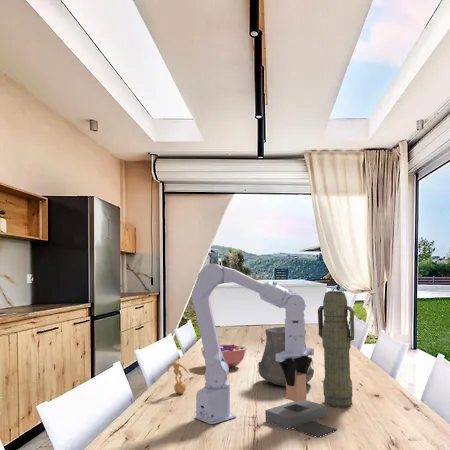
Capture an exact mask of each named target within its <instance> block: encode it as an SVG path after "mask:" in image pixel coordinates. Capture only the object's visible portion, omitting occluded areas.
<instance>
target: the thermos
mask: <svg viewBox="0 0 450 450" xmlns="http://www.w3.org/2000/svg"><path fill="white" fill-rule="evenodd" d="M348 311H349V314H348ZM354 313H355V312H354V309H353V308H352V307H351V306H349V305H348V299H347V295H346V294H345V292H343V291H342V290H341V291H340V290H329V291H327V292H325V294H324V296H323V301H322V305H320V306H319V307H318V309H317V322H318V336H319V337H320V338H321V339H322V340H321V341H322V347H323V352H324V353H323V357H324V359H323V361H324V362H323V363H324V378H323V381H322V382H323V383H322V384H323V387H322V388H323V397H324V402H323V403H324V405H326V404H327V405H326V406H328V405H329V406H328V407H332V406H334V407H333V408H349V407H351V405H352V406H353V395H354V394H353V381H352V379H351V364H350V363H351V361H350V349H351V342H353V341H354V340H355V314H354ZM348 316H349V321H348ZM349 325H350V326H349Z"/></svg>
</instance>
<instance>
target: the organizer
mask: <svg viewBox="0 0 450 450" xmlns="http://www.w3.org/2000/svg"><path fill="white" fill-rule="evenodd" d="M327 406H328V405H326V404H321V403H318V402H315V401H310V400H307V399H306V400H302V401H299V402H295V401H291V402H288V403H285V404H281V405H279V406H275V407H271V408H269V409H265V413H264V415H265V422H266V421H267V422H266V423H269V422H270V423H269V424H272V423H273V424H272V425H275V424H276V425H275V426H278V425H279V426H278V427H280V426H282V427H281V428H283V427H285V428H284V429H286V428H288V429H287V430H289V429H291V430H293V429H292V428H295V427H298V426H301V425H304V424H306V423H309V422H312V421H314V422H316V421H318V420H317V419H319V420H321V419H320V418H322V419H324V418H327V417H328V410H327V409H328V407H327ZM326 416H327V417H326ZM323 417H324V418H323ZM315 420H316V421H315Z"/></svg>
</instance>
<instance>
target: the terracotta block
mask: <svg viewBox="0 0 450 450" xmlns="http://www.w3.org/2000/svg"><path fill="white" fill-rule="evenodd" d="M285 393H286V400H289V401H291V402H294V401H295V402H299V401H302V400H307V383H306V374H303V373H299V372H295V383H294V386H289V385H287V382H286V386H285Z"/></svg>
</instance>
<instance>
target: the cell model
mask: <svg viewBox="0 0 450 450" xmlns="http://www.w3.org/2000/svg"><path fill="white" fill-rule="evenodd" d="M219 345H220V349H221V352H222V354H223V358H224V360H225V361H226V363H227V364H228V366H229V368H233V367H237V366H238V365H239V364H240V363H242V361H243V360H244V357H245V354H246V351H247V347H244V346H240V345H235V344H219ZM200 351H201V354H202V356H203V359H204V360H205V353H204V349H203V346H202V347H200Z"/></svg>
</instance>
